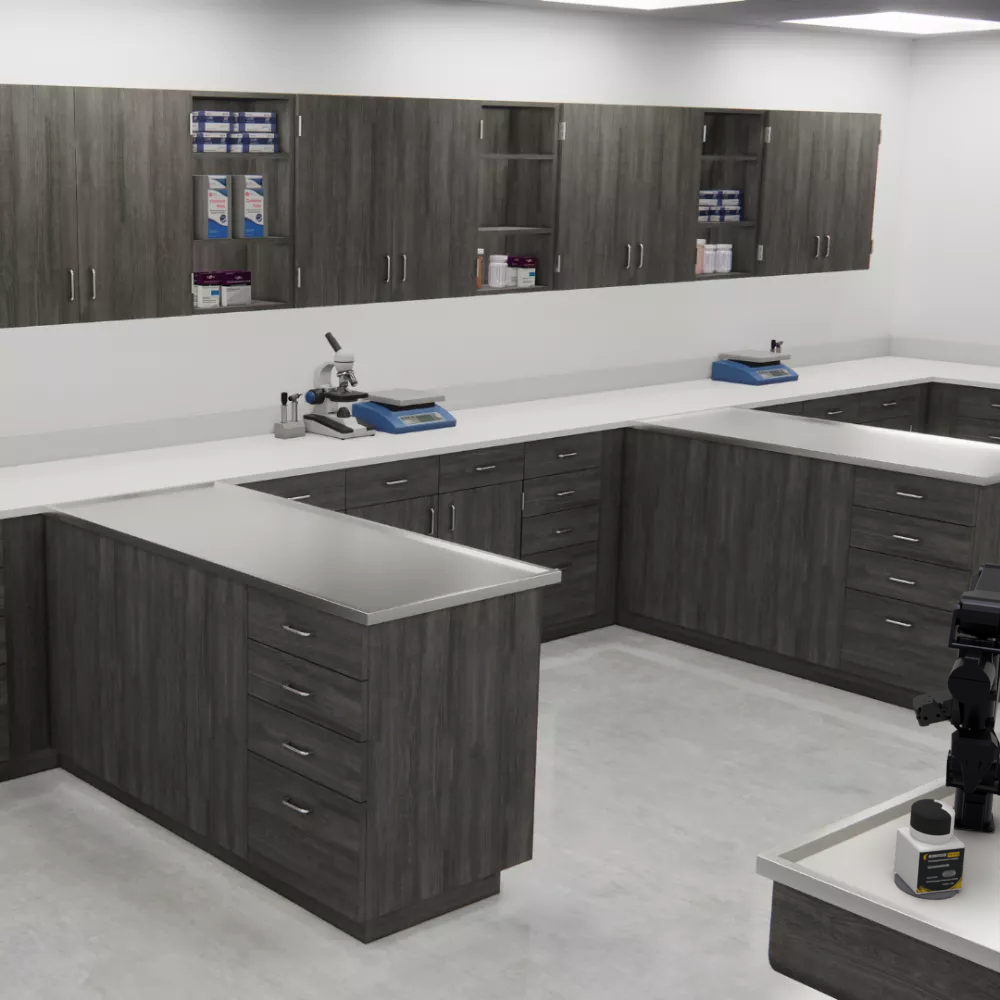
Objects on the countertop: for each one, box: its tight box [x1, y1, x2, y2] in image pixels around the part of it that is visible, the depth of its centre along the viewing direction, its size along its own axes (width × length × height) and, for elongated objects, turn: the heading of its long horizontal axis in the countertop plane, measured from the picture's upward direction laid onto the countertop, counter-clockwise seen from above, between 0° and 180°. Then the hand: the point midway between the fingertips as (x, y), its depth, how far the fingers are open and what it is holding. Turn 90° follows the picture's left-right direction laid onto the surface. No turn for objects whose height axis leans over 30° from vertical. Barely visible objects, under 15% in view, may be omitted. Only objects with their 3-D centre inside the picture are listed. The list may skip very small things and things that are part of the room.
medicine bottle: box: [893, 798, 966, 894], centre depth 208 cm, size 7×7×12 cm
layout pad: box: [894, 872, 959, 901], centre depth 209 cm, size 9×9×1 cm
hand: (967, 779), depth 213 cm, fingers open, 9 cm apart
